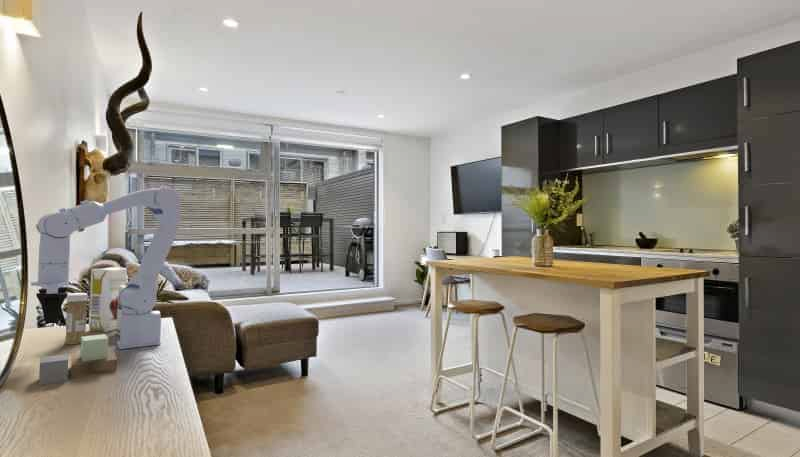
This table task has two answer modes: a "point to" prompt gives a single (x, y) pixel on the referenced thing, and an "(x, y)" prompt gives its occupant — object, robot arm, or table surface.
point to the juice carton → (105, 298)
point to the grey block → (53, 369)
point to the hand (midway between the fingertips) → (51, 320)
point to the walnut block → (93, 365)
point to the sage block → (94, 347)
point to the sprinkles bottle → (76, 317)
